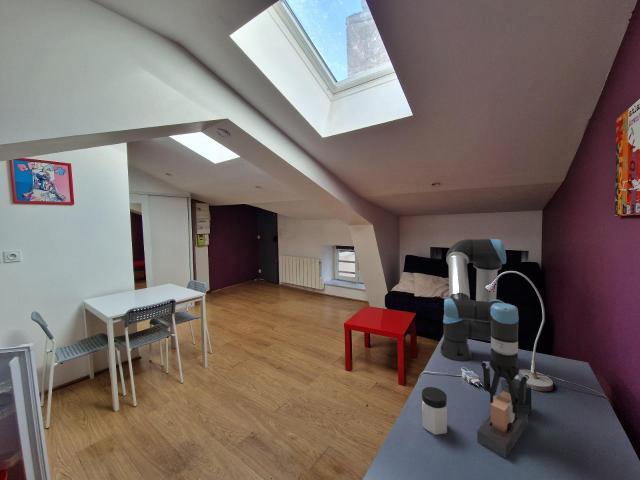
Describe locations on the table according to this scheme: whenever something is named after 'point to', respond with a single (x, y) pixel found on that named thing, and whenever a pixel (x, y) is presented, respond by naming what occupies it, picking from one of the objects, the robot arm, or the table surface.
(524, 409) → the box
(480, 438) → the grey slotted block
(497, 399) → the orange tan block
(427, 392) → the jar
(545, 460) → the table surface
